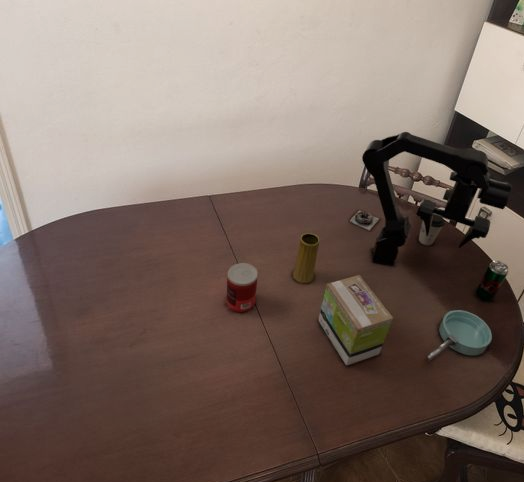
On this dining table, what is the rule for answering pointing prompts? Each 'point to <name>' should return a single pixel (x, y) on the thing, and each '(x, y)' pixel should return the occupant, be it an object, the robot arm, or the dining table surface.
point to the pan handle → (442, 347)
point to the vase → (306, 258)
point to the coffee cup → (431, 230)
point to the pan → (466, 332)
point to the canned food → (241, 287)
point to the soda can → (492, 280)
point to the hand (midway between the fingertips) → (443, 241)
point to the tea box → (354, 319)
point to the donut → (364, 220)
